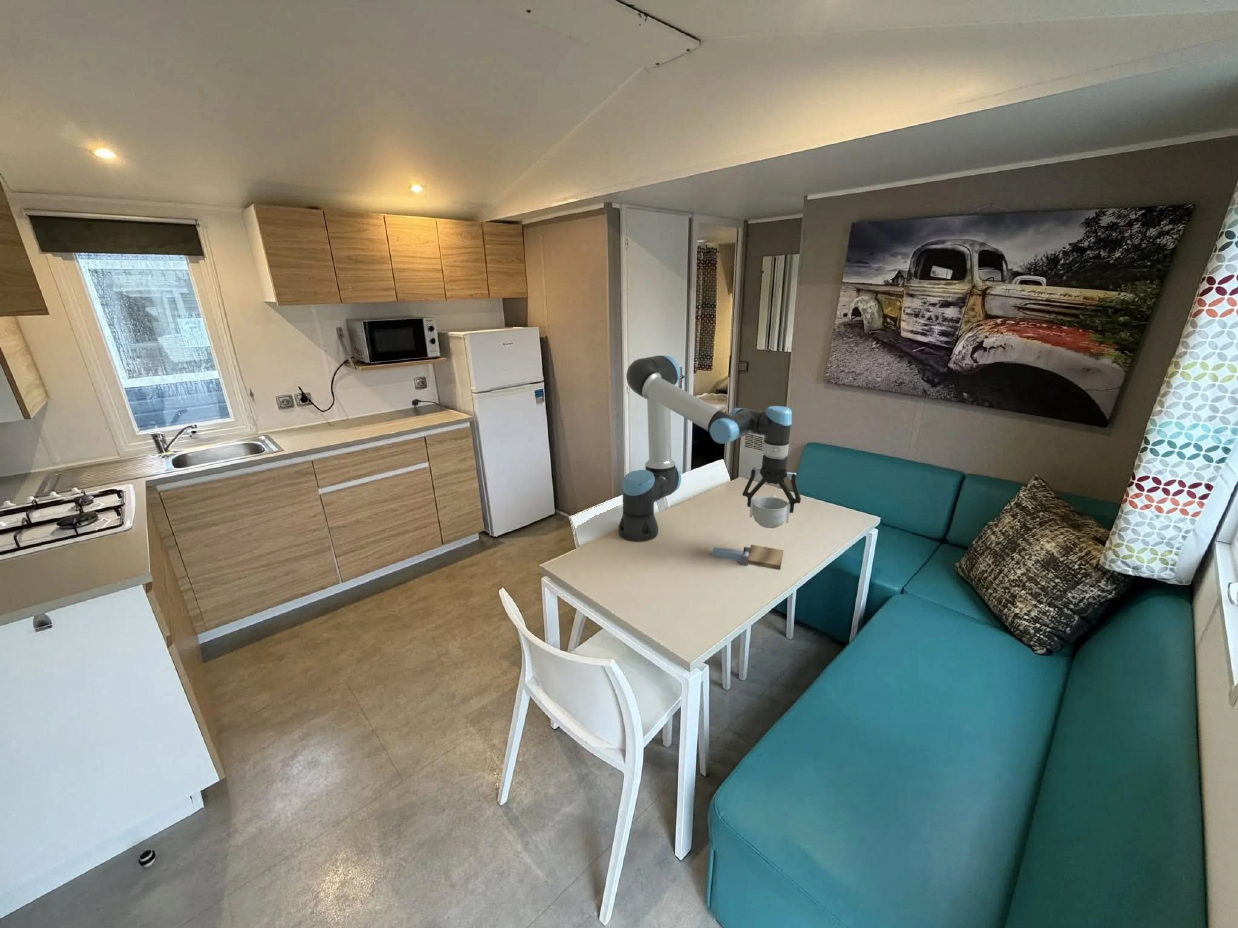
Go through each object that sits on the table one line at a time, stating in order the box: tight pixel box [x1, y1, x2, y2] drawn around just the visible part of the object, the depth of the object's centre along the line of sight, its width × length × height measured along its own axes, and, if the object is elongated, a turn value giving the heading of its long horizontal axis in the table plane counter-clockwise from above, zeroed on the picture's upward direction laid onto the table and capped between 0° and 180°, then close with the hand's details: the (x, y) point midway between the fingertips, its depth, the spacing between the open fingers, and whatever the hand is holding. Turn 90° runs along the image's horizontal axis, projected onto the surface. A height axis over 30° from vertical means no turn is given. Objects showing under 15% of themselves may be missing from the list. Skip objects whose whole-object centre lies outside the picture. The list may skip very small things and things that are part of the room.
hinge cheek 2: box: [739, 555, 749, 567], centre depth 160 cm, size 2×1×3 cm, turn 67°
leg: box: [711, 546, 749, 562], centre depth 165 cm, size 12×5×3 cm, turn 68°
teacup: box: [752, 495, 788, 529], centre depth 159 cm, size 14×11×8 cm
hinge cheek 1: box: [742, 546, 751, 555], centre depth 166 cm, size 2×1×3 cm, turn 67°
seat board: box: [748, 544, 784, 570], centre depth 164 cm, size 11×11×1 cm
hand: (769, 518), depth 160 cm, fingers closed on teacup, 11 cm apart
